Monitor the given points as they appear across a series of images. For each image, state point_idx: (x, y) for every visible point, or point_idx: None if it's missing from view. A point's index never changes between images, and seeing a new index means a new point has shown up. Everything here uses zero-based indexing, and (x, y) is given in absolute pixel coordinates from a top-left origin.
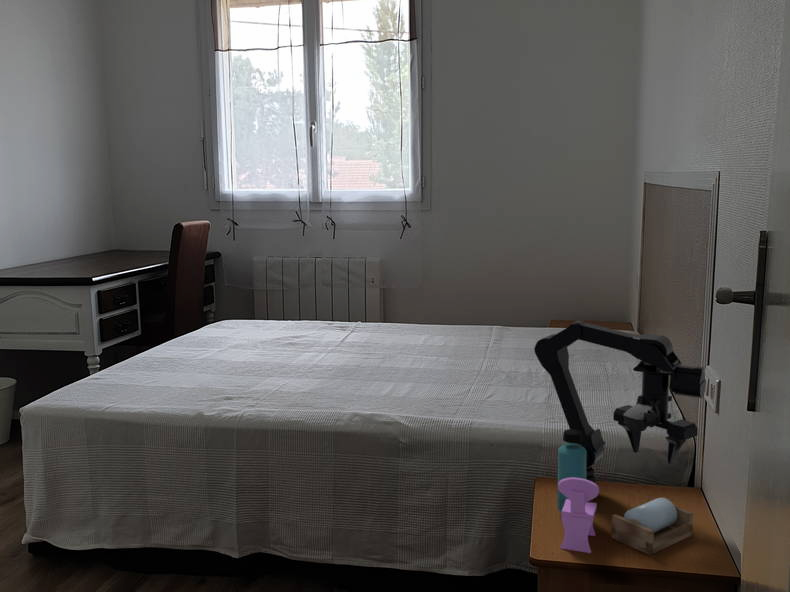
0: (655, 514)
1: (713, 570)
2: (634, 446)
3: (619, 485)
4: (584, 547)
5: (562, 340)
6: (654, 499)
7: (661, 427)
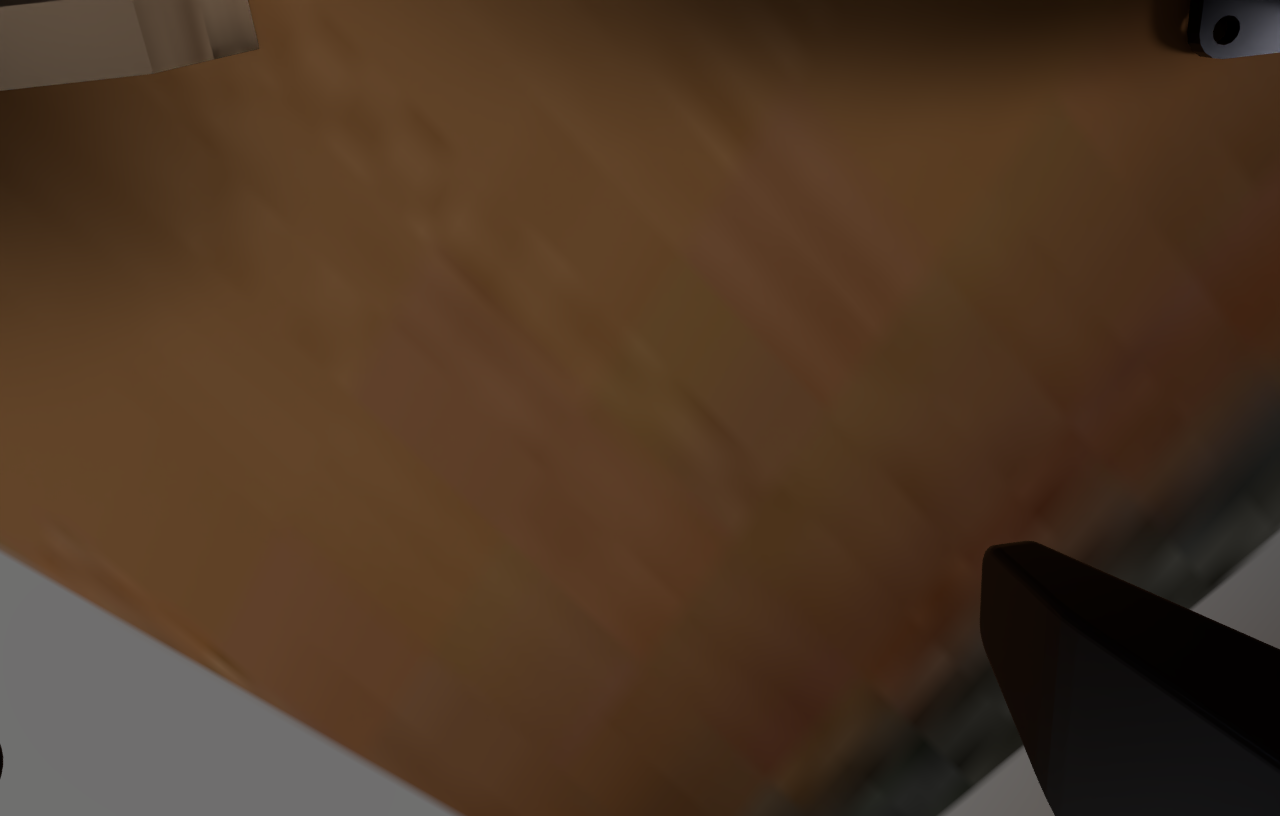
0: None
1: None
2: (1076, 624)
3: (1132, 424)
4: None
5: None
6: (111, 31)
7: None
